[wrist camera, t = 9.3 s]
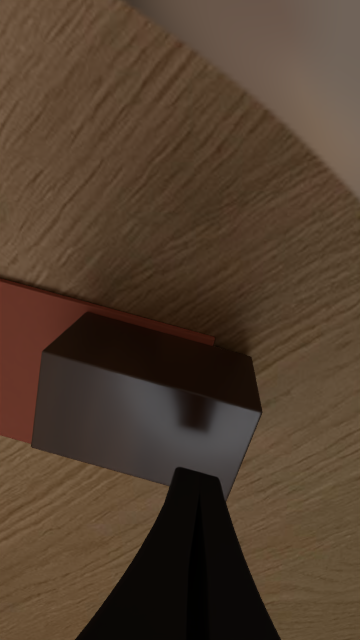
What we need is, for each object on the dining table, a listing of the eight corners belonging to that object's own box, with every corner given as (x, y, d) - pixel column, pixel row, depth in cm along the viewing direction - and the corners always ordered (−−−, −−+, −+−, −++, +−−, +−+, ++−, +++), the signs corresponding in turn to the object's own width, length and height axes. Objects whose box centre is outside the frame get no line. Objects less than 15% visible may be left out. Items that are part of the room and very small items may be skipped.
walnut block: (263, 412, 12) (41, 350, 12) (226, 503, 13) (30, 447, 14) (251, 356, 16) (86, 310, 16) (224, 430, 18) (73, 388, 18)
